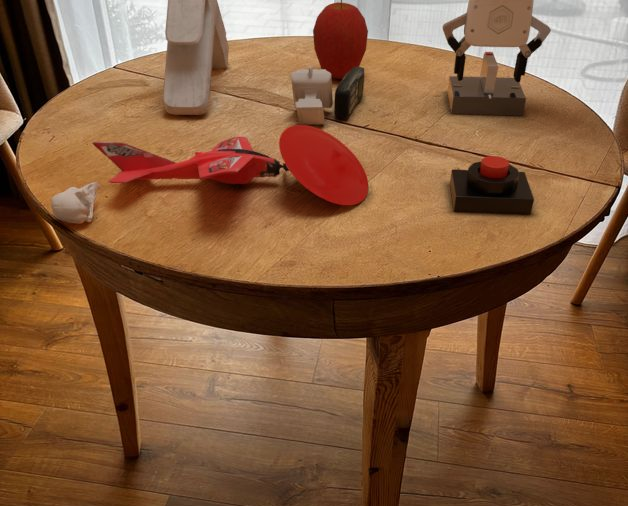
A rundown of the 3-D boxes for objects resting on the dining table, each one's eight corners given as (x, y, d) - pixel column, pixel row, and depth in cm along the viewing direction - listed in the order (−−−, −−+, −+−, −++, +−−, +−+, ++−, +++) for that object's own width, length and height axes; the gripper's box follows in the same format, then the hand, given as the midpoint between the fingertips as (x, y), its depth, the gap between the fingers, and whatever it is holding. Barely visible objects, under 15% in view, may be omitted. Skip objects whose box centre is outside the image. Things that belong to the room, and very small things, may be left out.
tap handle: (493, 93, 113) (498, 64, 110) (484, 93, 113) (488, 64, 110) (488, 79, 118) (493, 51, 115) (479, 79, 118) (484, 51, 115)
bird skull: (118, 192, 89) (107, 168, 86) (87, 234, 85) (74, 210, 82) (83, 186, 91) (71, 162, 88) (51, 226, 87) (37, 202, 84)
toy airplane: (302, 210, 83) (304, 169, 81) (75, 205, 79) (70, 162, 77) (283, 168, 107) (284, 135, 105) (107, 162, 103) (104, 128, 101)
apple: (303, 73, 130) (302, -6, 121) (346, 64, 134) (349, -13, 125) (331, 90, 123) (332, 7, 114) (376, 80, 127) (381, -1, 118)
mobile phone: (350, 92, 108) (368, 60, 119) (332, 90, 109) (352, 59, 120) (349, 121, 112) (367, 88, 122) (332, 120, 112) (351, 87, 123)
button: (505, 168, 90) (507, 156, 89) (508, 180, 88) (511, 168, 86) (478, 167, 90) (480, 155, 89) (480, 179, 88) (483, 167, 87)
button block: (521, 186, 94) (527, 159, 91) (530, 214, 88) (537, 186, 85) (449, 183, 95) (453, 156, 92) (453, 211, 89) (457, 183, 86)
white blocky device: (290, 56, 108) (285, 96, 105) (331, 56, 108) (328, 96, 104) (296, 97, 117) (291, 136, 113) (334, 98, 116) (331, 136, 112)
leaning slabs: (186, 158, 130) (153, 95, 107) (195, 42, 134) (165, -42, 111) (225, 159, 129) (201, 96, 107) (233, 43, 133) (211, -42, 111)
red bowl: (381, 172, 96) (358, 199, 100) (304, 108, 94) (284, 139, 98) (350, 220, 86) (326, 248, 90) (263, 150, 84) (243, 182, 88)
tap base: (513, 93, 121) (517, 75, 119) (523, 117, 113) (527, 98, 111) (447, 91, 122) (449, 74, 120) (451, 115, 114) (453, 96, 112)
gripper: (451, -30, 101) (438, 85, 113) (568, -29, 100) (543, 87, 111) (448, -41, 107) (435, 70, 118) (558, -39, 106) (535, 72, 117)
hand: (488, 78), depth 115 cm, fingers open, 9 cm apart
